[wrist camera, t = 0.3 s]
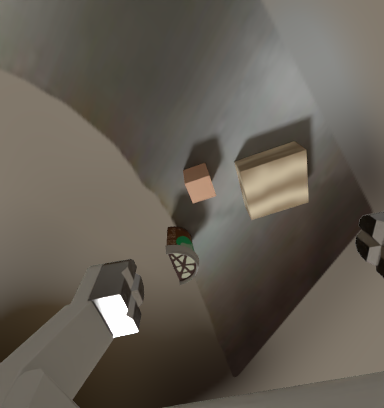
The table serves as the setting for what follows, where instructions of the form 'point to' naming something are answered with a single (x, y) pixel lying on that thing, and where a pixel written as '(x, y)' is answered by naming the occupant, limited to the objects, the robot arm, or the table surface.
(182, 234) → the food container
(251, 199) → the birch plinth
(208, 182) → the terracotta block
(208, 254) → the table surface
